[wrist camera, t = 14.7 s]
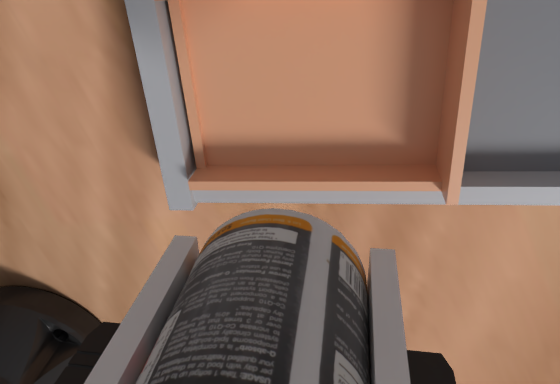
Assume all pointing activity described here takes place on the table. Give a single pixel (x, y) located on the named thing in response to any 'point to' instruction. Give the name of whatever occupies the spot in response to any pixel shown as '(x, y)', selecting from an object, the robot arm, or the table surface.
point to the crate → (329, 92)
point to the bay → (482, 131)
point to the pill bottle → (268, 308)
